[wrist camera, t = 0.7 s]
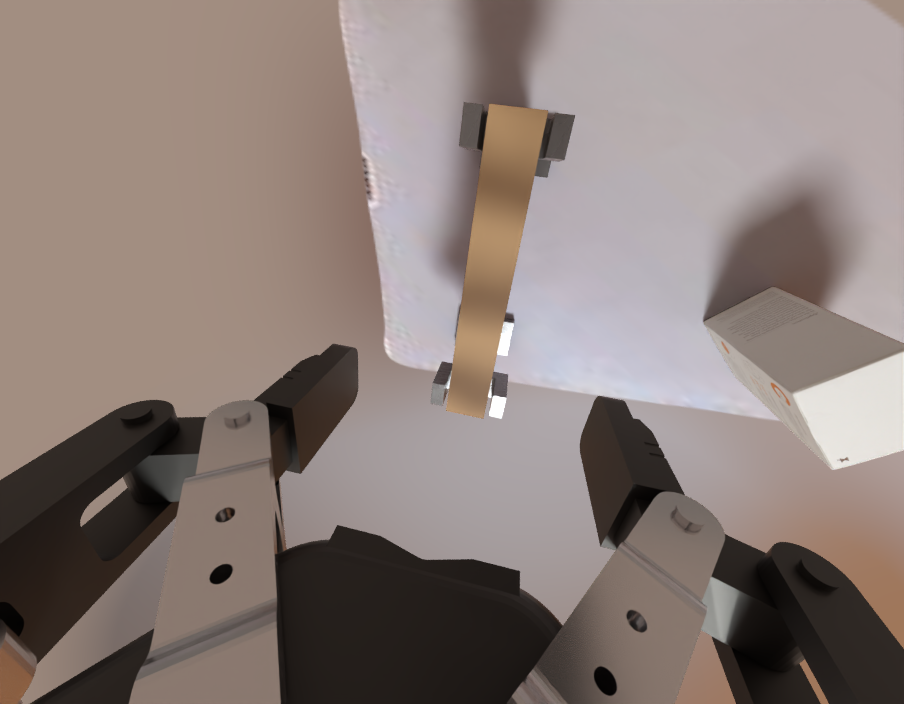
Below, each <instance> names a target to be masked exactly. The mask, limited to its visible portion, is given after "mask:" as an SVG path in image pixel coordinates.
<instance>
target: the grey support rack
mask: <svg viewBox="0 0 904 704" xmlns="http://www.w3.org/2000/svg"><path fill="white" fill-rule="evenodd" d="M487 116H488V112H487V111H486V109H485V108H484V106H483V104H474V103H466V102H464V106H463V115H462V124H461V133H460V142H459V146H460V147H463V148H465V149H467V150H474V151H481V152H483V145H484V138H485V131H486V124H487ZM574 118H575V115H568V114H559V113H555V115H554V117H553V118H552V120H551V119H546V124H545V128H544V133H543V138H542V143H541V147H540V152H539V157H538V162H537V166H536V171H535V176H539V177H546V178H547V177H548V172H549V168H550V163H551V161H557V162H559V161H562V160H564V159H565V155H566V151H567V147H568V143H569V139H570V134H571V130H572V126H573V122H574ZM481 159H482V154H481ZM480 166H481V161H480ZM459 316H460V313H459ZM458 323H459V319H458ZM513 326H514V320H511V319H506V318H504V323H503V328H502V333H501V337H500V342H499V347H498V352H497V354H500V355H505V356H507V353H508V348H509V344H510V340H511V335H512V331H513ZM457 330H458V326H457ZM456 337H457V333H456ZM455 344H456V340H455ZM452 365H453V364H452V363H447V362H442V363H441V365H440V367H439V370H438V372H437V374H436V377H435V379H434V381H433V386H432V394H431V404H436V405H441V406H443V403H444V400H445V397H446V394H447V391H448V389H449V387H450V380H451V372H452ZM507 383H508V375H507V374H502V373H497V372H493V375H492V380H491V385H490V390H489V394H488V397H490V398H491V406H490V412H489V416H492V417H497V418H502V414H503V410H504V406H505V402H506V395H507Z"/></svg>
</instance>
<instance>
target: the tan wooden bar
mask: <svg viewBox="0 0 904 704" xmlns="http://www.w3.org/2000/svg"><path fill="white" fill-rule="evenodd" d="M547 114H548V111H547V110H539V109H530V108H522V107H513V106H505V105H496V104H489V109H488V116H487V124H486V131H485V138H484V145H483V152H482V159H481V166H480V173H479V180H478V188H477V195H476V202H475V209H474V216H473V223H472V230H471V237H470V244H469V252H468V259H467V266H466V273H465V280H464V287H463V294H462V301H461V308H460V316H459V323H458V330H457V337H456V344H455V351H454V358H453V365H452V372H451V380H450V387H449V394H448V401H447V408H446V411H450V412H455V413H459V414H464V415H469V416H473V417H478V418H484V413H485V408H486V404H487V399H488V394H489V390H490V385H491V380H492V375H493V371H494V366H495V361H496V356H497V352H498V347H499V342H500V337H501V333H502V328H503V323H504V318H505V314H506V309H507V304H508V299H509V295H510V290H511V285H512V280H513V276H514V271H515V266H516V261H517V257H518V252H519V247H520V242H521V238H522V233H523V228H524V223H525V219H526V214H527V209H528V204H529V200H530V195H531V190H532V185H533V181H534V176H535V171H536V166H537V162H538V157H539V152H540V147H541V143H542V138H543V133H544V128H545V124H546V119H547Z"/></svg>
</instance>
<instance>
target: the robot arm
mask: <svg viewBox="0 0 904 704" xmlns="http://www.w3.org/2000/svg"><path fill="white" fill-rule="evenodd" d="M357 392H358V352H357V349H356V348H353V347H348V346H343V345H338V344H332V345H331V346H330V347H329V348H328V349H327V350H325V351H324V352H323V353H322V354H321V355H320V356H319V355H314V356H312V357H309V358H307V359H305V360H302V361H301V362H299V363H298V364H297V365H296V366H295V367H293V368H292V369H291V371H289V372H287V373H286V374H285V375H284V376H283V378H280V379H279V380H278V381H276V382H275V383H274V384H273V385H272V386H270V387H269V388H268V389H267V390H266V391H264V392H263V393H262V394H261V395H260V396H258V397H257V398H256V399H255V400H254V401H252V400H243V401H235V402H231V403H228V404H225V405H223V406H221V407H218V408H217V409H215V410H214V411H212V412H211V413H210V414H209V415H208V416H207V417H189V418H188V417H185V418H177V416H176V413H175V410H174V407H173V405H172V404H170V403H169V402H166V401H161V400H146V401H140V402H136V403H132V404H129V405H126V406H123V407H121V408H119V409H116V410H114V411H113V412H111V413H109V414H108V415H106V416H105V417H103V418H101V419H100V420H98V421H96V422H95V423H93V424H91V425H90V426H88V427H86V428H85V429H83V430H82V431H80V432H78V433H77V434H75V435H73V436H72V437H70V438H68V439H67V440H65V441H64V442H62V443H60V444H59V445H57V446H55V447H54V448H52V449H51V450H49V451H47V452H46V453H44V454H42V455H41V456H39V457H37V458H36V459H34V460H32V461H31V462H29V463H28V464H26V465H24V466H23V467H21V468H19V469H18V470H16V471H14V472H13V473H11V474H10V475H8V476H6V477H5V478H3V479H1V480H0V704H22V700H21V698H22V697H23V695H24V693H25V692H26V690H27V689H28V687H29V685H30V684H31V682H32V679H33V677H34V674H35V671H36V666H37V664H38V663H39V662H40V661H41V659H42V658H43V657H44V656H45V655H46V654H47V653H48V652H49V651H50V650H51V649H52V648H53V646H55V644H57V642H58V641H59V640H60V639H61V638H62V637H63V636H64V635H65V634H66V633H67V632H68V631H69V630H70V629H71V628H72V627H73V625H74V624H75V623H76V622H77V621H78V620H79V619H80V618H81V617H82V616H83V615H84V614H85V613H86V612H87V611H88V610H89V608H90V607H91V606H92V605H93V604H94V603H95V602H96V601H97V600H98V599H99V598H100V597H101V596H102V595H103V594H104V593H105V591H107V589H108V588H109V587H110V586H111V585H112V584H113V583H114V582H115V581H116V580H117V579H118V578H119V577H120V576H121V575H122V573H124V571H125V570H126V569H127V568H128V567H129V566H130V565H131V564H132V563H133V562H134V561H135V560H136V559H137V558H138V557H139V556H140V554H141V553H142V552H143V551H144V550H145V549H146V548H147V547H148V546H149V545H150V544H151V543H152V542H153V541H154V540H155V539H156V538H157V536H158V535H159V534H160V533H161V532H162V531H163V530H164V529H165V528H166V527H167V526H168V525H169V524H170V522H172V521H173V519H174V518H175V517H176V516H177V517H176V522H175V527H174V532H173V537H172V542H171V547H170V552H169V557H168V563H167V567H166V573H165V578H164V583H163V588H162V593H161V598H160V603H159V608H158V613H157V618H156V623H155V628H154V629H152V630H151V631H149V632H147V633H146V634H144V635H143V636H141V637H139V638H138V639H136V640H134V641H132V642H131V643H129V644H128V645H126V646H124V647H123V648H121V649H119V650H118V651H116V652H114V653H113V654H111V655H110V656H108V657H106V658H105V659H103V660H101V661H100V662H98V663H96V664H95V665H93V666H91V667H90V668H88V669H87V670H85V671H83V672H81V673H80V674H78V675H77V676H75V677H73V678H71V679H70V680H68V681H67V682H65V683H63V684H62V685H60V686H58V687H57V688H56V689H53V690H52V691H50V692H48V693H47V694H45V695H43V696H42V697H40V698H38V699H37V700H35V701H34V702H32V703H30V704H675V701H676V698H677V696H678V693H679V690H680V687H681V684H682V681H683V679H684V675H685V673H686V670H687V667H688V665H689V662H690V659H691V656H692V653H693V650H694V648H695V645H696V642H697V639H698V636H699V633H700V631H701V630H702V631H704V632H706V633H707V634H709V635H711V636H712V639H713V642H714V645H715V647H716V650H717V653H718V655H719V658H720V661H721V663H722V666H723V669H724V672H725V675H726V677H727V680H728V683H729V686H730V688H731V691H732V694H733V696H734V699H735V702H736V704H820V702H819V700H818V698H817V696H816V694H815V692H814V690H813V688H812V686H811V684H810V683H809V681H808V679H807V677H806V675H805V673H804V671H803V669H802V668H801V666H800V664H799V663H800V662H802V661H803V660H804V659H805V660H806V662H807V663H808V665H809V667H810V669H811V671H812V673H813V674H814V676H815V678H816V680H817V682H818V684H819V685H820V687H821V689H822V691H823V693H824V695H825V696H826V699H827V700H828V703H829V704H904V649H903V647H902V646H901V645H900V644H899V642H898V641H897V640H896V638H895V637H894V636H893V634H892V633H891V632H890V631H889V629H888V628H887V627H886V625H885V624H884V623H883V622H882V620H881V619H880V618H879V616H878V615H877V614H876V612H875V611H874V610H873V608H872V607H871V606H870V605H869V603H868V602H867V601H866V599H865V598H864V597H863V595H862V594H861V593H860V592H859V590H858V589H857V588H856V586H855V585H854V584H853V583H852V582H851V581H850V580H849V579H848V578H847V577H846V575H845V574H843V573H842V572H841V571H840V570H839V569H838V568H836V567H835V566H834V565H833V564H831V563H830V562H829V561H827V560H826V559H824V558H823V557H821V556H819V555H818V554H816V553H814V552H812V551H810V550H809V549H806V548H804V547H802V546H799V545H796V544H793V543H788V542H779V543H776V544H774V546H772V548H771V549H770V550H769V551H768V552H767V553H764V552H762V551H760V550H758V549H756V548H753V547H751V546H749V545H747V544H745V543H742V542H740V541H738V540H736V539H734V538H732V537H729V536H728V535H726V534H725V533H724V530H723V528H722V526H721V524H720V523H719V521H718V520H717V518H716V517H715V516H714V515H713V514H712V513H711V512H710V511H709V510H708V509H706V508H705V507H704V506H703V505H701V504H700V503H698V502H697V501H695V500H693V499H691V498H689V497H687V496H685V494H684V492H683V491H682V489H681V487H680V485H679V483H678V481H677V479H676V477H675V475H674V473H673V471H672V469H671V467H670V465H669V464H668V461H667V460H666V459H665V458H664V454H663V452H662V450H661V448H659V444H658V442H657V440H656V438H655V437H654V435H653V433H652V431H651V430H650V429H649V428H647V426H645V425H644V424H643V423H642V422H641V421H640V420H639V419H633V417H632V415H631V413H630V411H629V409H628V407H627V405H626V403H625V401H623V400H618V399H613V398H608V397H603V396H598V397H597V398H596V399H595V401H594V403H593V406H592V409H591V412H590V414H589V416H588V419H587V422H586V424H585V427H584V429H583V432H582V435H581V440H580V454H581V458H582V463H583V467H584V472H585V477H586V482H587V486H588V491H589V496H590V500H591V505H592V509H593V514H594V519H595V523H596V528H597V532H598V537H599V542H600V546H601V547H604V548H608V549H612V550H616V551H615V552H614V554H613V555H612V557H611V558H610V560H609V561H608V562H607V564H606V565H605V567H604V568H603V570H602V571H601V572H600V574H599V575H598V577H597V578H596V579H595V581H594V582H593V584H592V585H591V587H590V588H589V589H588V591H587V592H586V594H585V595H584V597H583V598H582V600H581V601H580V602H579V604H578V605H577V607H576V608H575V609H574V611H573V613H572V614H571V615H570V617H569V618H568V619H567V621H566V622H565V624H564V625H562V624H561V623H560V622H559V620H558V619H557V618H556V617H555V616H554V615H553V614H552V613H551V612H550V611H549V610H548V609H547V608H546V607H545V606H544V605H543V604H542V603H541V602H539V601H538V600H537V599H535V598H534V597H533V596H531V595H530V594H529V593H527V592H526V591H524V590H522V589H520V571H517V570H513V569H509V568H505V567H501V566H497V565H493V564H490V563H486V562H482V561H477V560H474V559H470V560H469V559H467V560H466V559H465V560H464V559H461V560H424V559H421V558H418V557H417V556H415V555H413V554H411V553H409V552H408V551H406V550H404V549H402V548H401V547H399V546H397V545H395V544H393V543H392V542H390V541H388V540H386V539H385V538H383V537H381V536H378V535H374V534H370V533H367V532H362V531H358V530H354V529H350V528H347V527H343V526H339V525H337V527H336V529H335V531H334V533H333V534H332V536H331V538H330V540H320V541H313V542H308V543H305V544H300V545H298V546H295V547H292V548H289V549H287V548H286V540H285V530H284V519H283V508H282V497H281V485H280V479H279V478H280V477H281V476H282V474H283V473H284V472H285V471H286V470H287V471H291V472H295V473H299V474H301V473H302V471H303V470H304V469H305V467H306V466H307V465H308V463H309V462H310V461H311V459H312V458H313V457H314V455H315V454H316V453H317V451H318V450H319V448H320V447H321V446H322V445H323V443H324V442H325V441H326V439H327V438H328V437H329V435H330V434H331V433H332V431H333V430H334V429H335V427H336V426H337V425H338V423H339V422H340V420H341V419H342V418H343V417H344V415H345V414H346V413H347V411H348V410H349V409H350V407H351V406H352V404H353V403H354V401H355V399H356V396H357ZM122 477H123V479H124V480H125V483H126V485H127V487H128V488H127V489H126V490H125V491H123V492H122V493H121V494H120V495H119V496H118V497H116V498H115V499H114V500H113V501H112V502H111V503H109V504H108V505H107V506H106V507H104V508H103V509H102V510H101V511H100V512H99V513H97V514H96V515H95V516H94V517H93V518H91V519H90V520H89V521H88V522H87V523H86V524H84V525H83V526H82V527H81V526H80V519H81V516H82V514H83V512H84V510H85V509H86V508H87V506H88V505H89V504H90V503H91V502H92V501H93V500H94V499H95V498H97V497H98V496H99V495H100V494H102V493H103V492H104V491H106V490H107V489H108V488H109V487H110V486H112V485H113V484H114V483H116V482H117V481H118V480H119V479H121V478H122Z"/></svg>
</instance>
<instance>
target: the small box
mask: <svg viewBox="0 0 904 704" xmlns="http://www.w3.org/2000/svg"><path fill="white" fill-rule="evenodd" d="M703 323H704V325H705V327H706V329H707V330H708V332H709V334H710V336H711V337H712V339H713V341H714V343H715V344H716V346H717V348H718V350H719V351H720V353H721V355H722V356H723V358H724V360H725V361H726V363H727V365H728V366H729V368H730V370H731V371H732V373H733V375H734V376H735V378H736V379H737V380H738V381H739V382H740V383H742V384H743V385H744V386H745V387H746V388H747V389H748V390H749V391H750V392H751V393H752V394H753V395H754V396H756V397H757V398H758V399H759V400H760V401H761V402H762V403H763V404H764V405H765V406H766V407H767V408H768V409H769V410H770V411H771V412H772V413H773V414H774V415H775V416H776V417H777V418H778V419H779V420H780V421H781V422H783V423H784V424H785V425H786V426H787V427H788V428H789V429H790V430H791V431H792V432H793V433H794V434H795V435H796V436H797V437H798V438H799V439H800V440H801V441H802V442H803V443H804V444H806V445H807V446H808V447H809V448H810V449H811V450H812V451H813V452H814V453H815V454H816V455H817V456H818V457H819V458H820V459H821V460H822V461H823V462H825V464H827V465H828V466H829V467H830V468H831V469H832V470H835V469H839V468H843V467H847V466H850V465H854V464H858V463H861V462H865V461H868V460H872V459H875V458H879V457H882V456H885V455H889V454H892V453H896V452H899V451H902V450H904V343H902V342H899V341H897V340H895V339H892V338H890V337H888V336H886V335H883V334H881V333H879V332H876V331H874V330H872V329H870V328H867V327H865V326H863V325H860V324H858V323H856V322H854V321H851V320H849V319H847V318H845V317H842V316H840V315H838V314H835V313H833V312H831V311H829V310H826V309H824V308H822V307H819V306H817V305H815V304H813V303H810V302H808V301H806V300H804V299H801V298H799V297H797V296H795V295H792V294H790V293H788V292H785V291H783V290H781V289H779V288H777V287H770V288H768V289H767V290H765V291H763V292H761V293H759V294H757V295H755V296H753V297H751V298H749V299H747V300H745V301H743V302H741V303H739V304H737V305H735V306H733V307H731V308H729V309H727V310H725V311H723V312H721V313H719V314H717V315H715V316H714V317H712V318H710V319H708V320H706V321H704V322H703Z"/></svg>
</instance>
